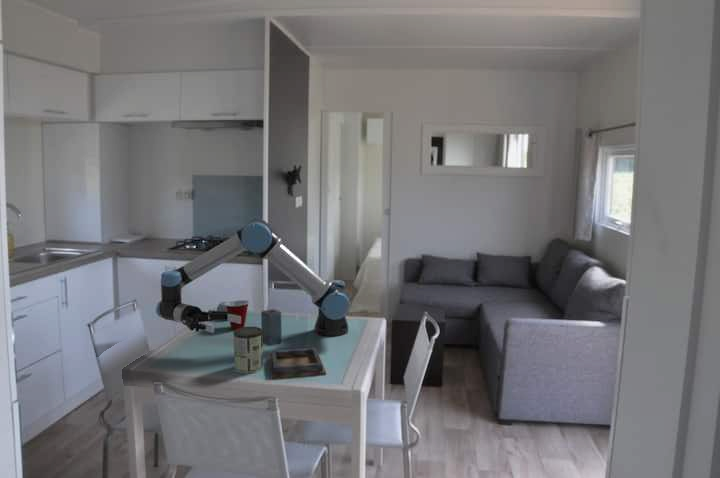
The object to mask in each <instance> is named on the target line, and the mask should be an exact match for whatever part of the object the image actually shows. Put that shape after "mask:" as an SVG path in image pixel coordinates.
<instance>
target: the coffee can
mask: <svg viewBox="0 0 720 478" xmlns="http://www.w3.org/2000/svg"><path fill="white" fill-rule="evenodd" d="M232 334H233V351H234V352H233V357H234V371H235V372H237V373H240V374H253V373H257V372H259V371H262V370H263V368H264V365H263V364H264V357H263V356H264V355H263V353H264V352H263V350H264V349H263V329H262V328H261V327H258V326H244V327H242V328H238V329H236V330H234V329H233V332H232Z"/></svg>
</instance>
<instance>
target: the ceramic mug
mask: <svg viewBox="0 0 720 478" xmlns="http://www.w3.org/2000/svg"><path fill="white" fill-rule="evenodd" d="M225 303H227V301H220V303H218V305H217V307H216V311H227V308H226V306H225Z"/></svg>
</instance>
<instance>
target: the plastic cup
mask: <svg viewBox="0 0 720 478" xmlns="http://www.w3.org/2000/svg"><path fill="white" fill-rule="evenodd" d="M226 302H227V301H226ZM249 303H250V301H248V300H242V299H241V300H232V301H228V302H227V303H225V306H226V308H227V311H228V312H229V311H230V312H232V314H233V315H237V316H241V323H240V324H239V323H235V322H231V321H229V324H230V328H231V329H232V330H233V331H234V330H236V329H238V328H242V327H246V319H247V312H248V307H249Z"/></svg>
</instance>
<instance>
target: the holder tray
mask: <svg viewBox="0 0 720 478" xmlns="http://www.w3.org/2000/svg"><path fill="white" fill-rule="evenodd" d="M270 352H271V353H270V356H268V365H269V370H270V376H271V377H270V378H271V379H272V380H275V379H283V378H284V379H286V378H297V377H298V378H299V377H309V376H310V377H312V376H313V377H314V376H323V375H324V376H325V375H327V371H326V369H325V366H324V364H323V362H322V359H321V357H320V355H319V352H318V350H317V348H316V347H315V348H314V347H313V348H297V349H285V350H284V349H282V350H271V351H270Z"/></svg>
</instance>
